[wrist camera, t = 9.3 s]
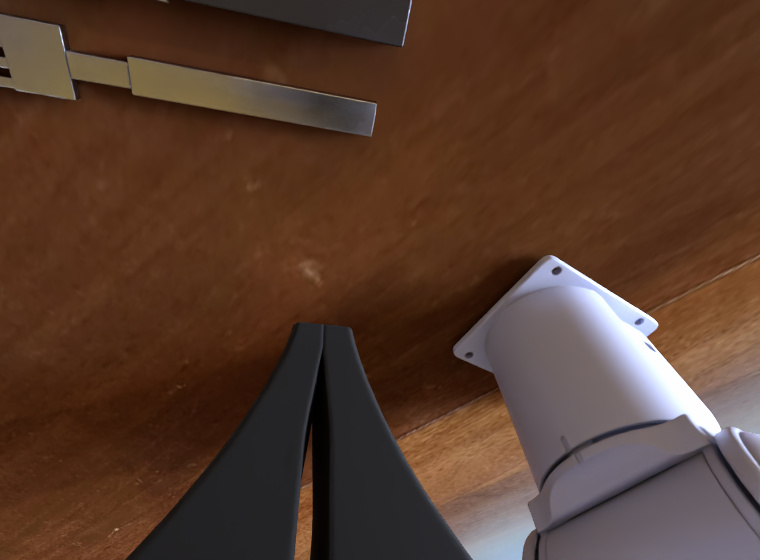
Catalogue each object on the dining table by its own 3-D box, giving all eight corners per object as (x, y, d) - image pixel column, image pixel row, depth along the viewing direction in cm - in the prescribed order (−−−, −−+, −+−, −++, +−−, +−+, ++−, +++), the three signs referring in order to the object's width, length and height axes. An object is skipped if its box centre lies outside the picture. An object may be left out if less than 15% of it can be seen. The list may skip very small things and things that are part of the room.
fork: (379, 86, 16) (380, 88, 15) (368, 147, 17) (369, 150, 17) (-106, -10, 13) (-117, -9, 13) (-73, 72, 14) (-82, 74, 14)
